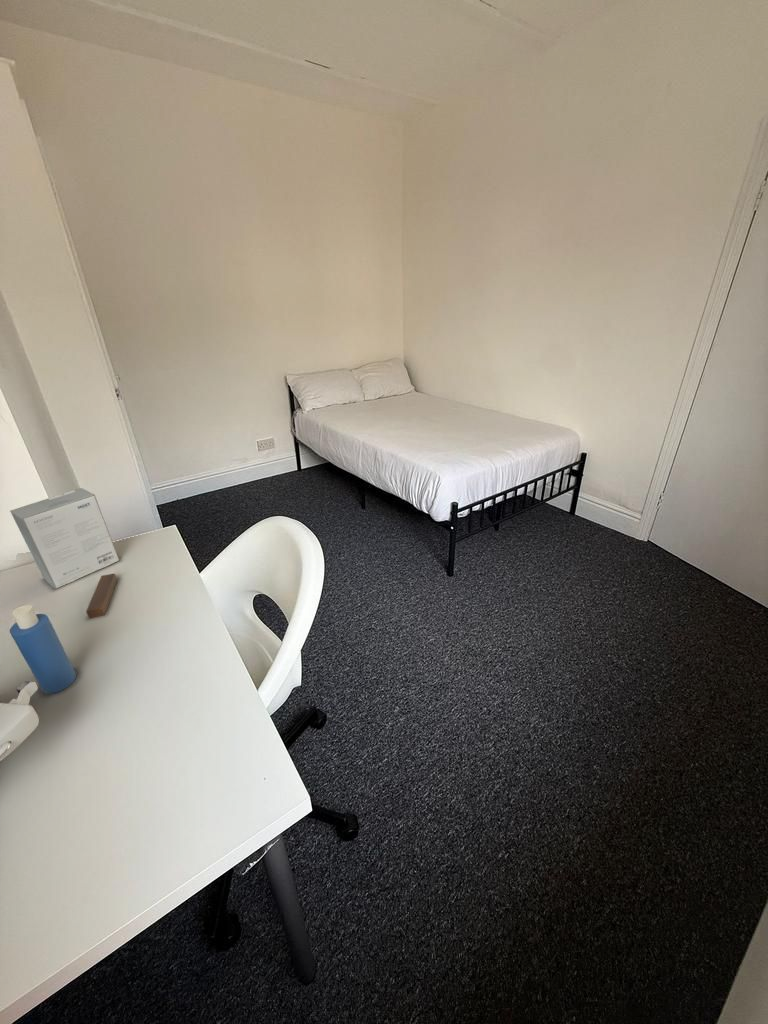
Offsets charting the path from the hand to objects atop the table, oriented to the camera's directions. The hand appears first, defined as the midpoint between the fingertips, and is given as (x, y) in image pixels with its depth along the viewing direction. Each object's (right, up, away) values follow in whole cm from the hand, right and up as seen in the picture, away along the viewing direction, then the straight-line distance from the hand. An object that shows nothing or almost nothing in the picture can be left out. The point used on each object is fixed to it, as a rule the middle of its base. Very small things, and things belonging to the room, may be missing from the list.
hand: (4, 682), depth 66 cm
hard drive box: (-18, +12, +42) cm, 48 cm away
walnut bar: (-6, +7, +32) cm, 33 cm away
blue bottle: (+1, -4, +10) cm, 11 cm away
